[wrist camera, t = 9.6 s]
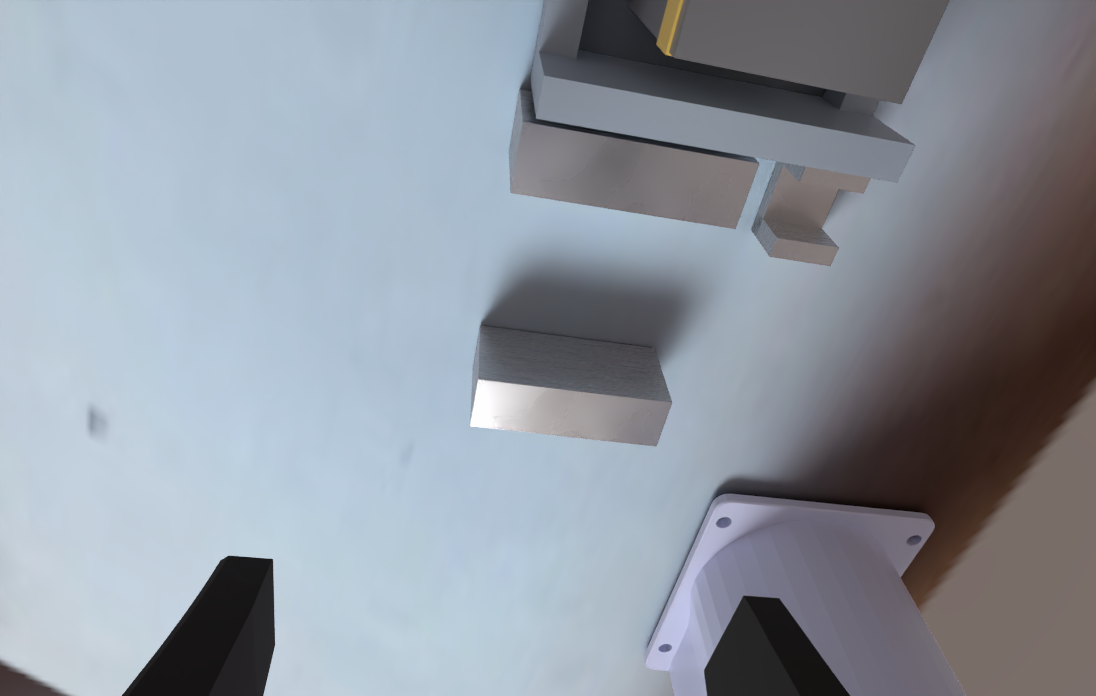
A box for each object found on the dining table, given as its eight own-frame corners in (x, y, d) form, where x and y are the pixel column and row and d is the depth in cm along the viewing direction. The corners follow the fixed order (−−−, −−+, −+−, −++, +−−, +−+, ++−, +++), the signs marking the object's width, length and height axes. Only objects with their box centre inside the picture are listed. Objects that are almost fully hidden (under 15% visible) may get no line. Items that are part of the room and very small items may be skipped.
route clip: (808, 239, 19) (830, 265, 18) (751, 230, 19) (769, 256, 17) (846, 150, 18) (872, 172, 16) (785, 139, 17) (808, 161, 16)
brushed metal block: (640, 389, 21) (656, 446, 19) (473, 369, 21) (470, 426, 19) (727, 126, 17) (759, 163, 15) (519, 88, 16) (522, 122, 14)
